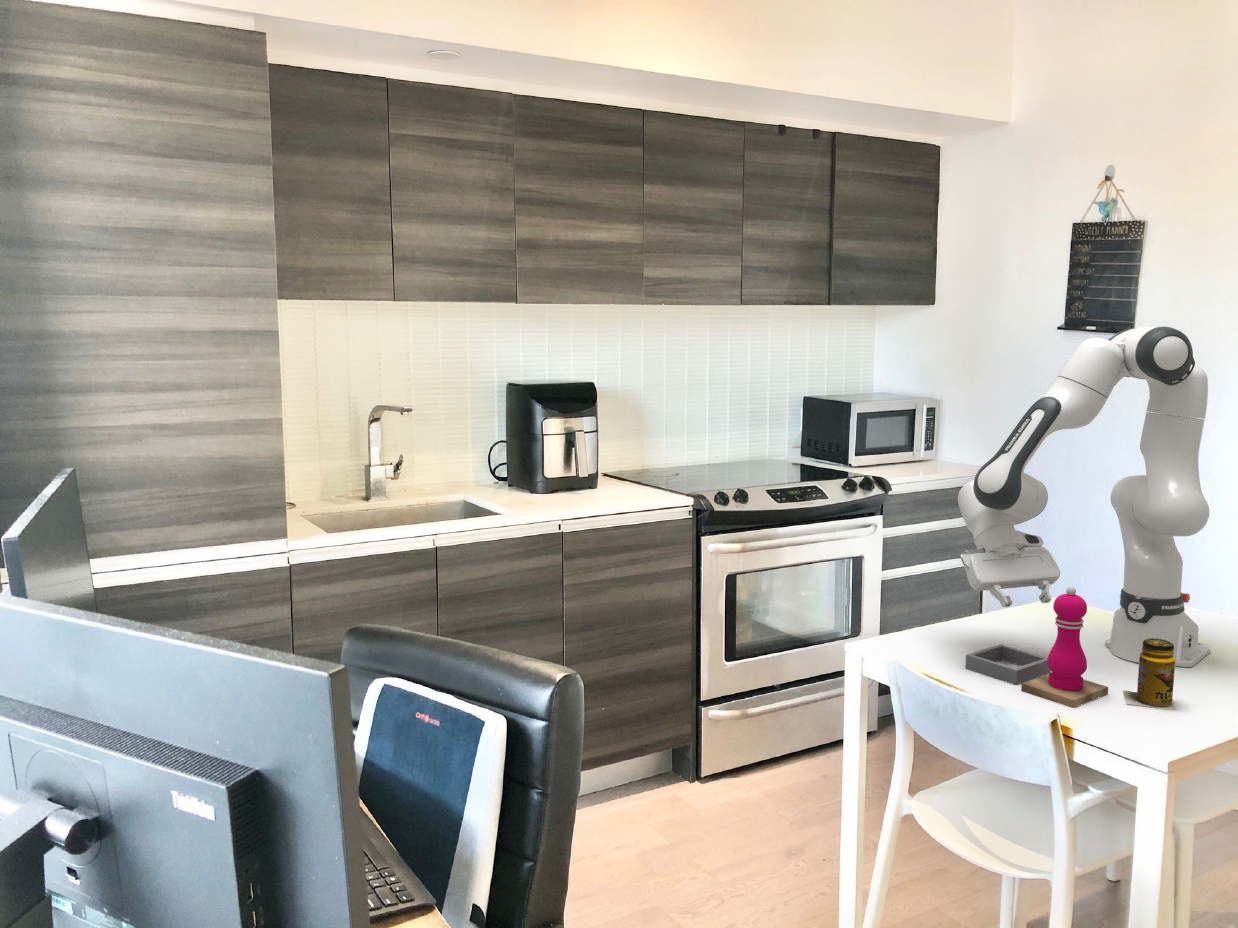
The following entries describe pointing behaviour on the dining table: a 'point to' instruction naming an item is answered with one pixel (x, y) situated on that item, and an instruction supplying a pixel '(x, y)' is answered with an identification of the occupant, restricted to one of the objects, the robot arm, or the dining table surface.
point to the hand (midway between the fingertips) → (1027, 603)
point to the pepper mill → (1068, 643)
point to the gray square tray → (986, 665)
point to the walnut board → (1064, 691)
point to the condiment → (1154, 676)
